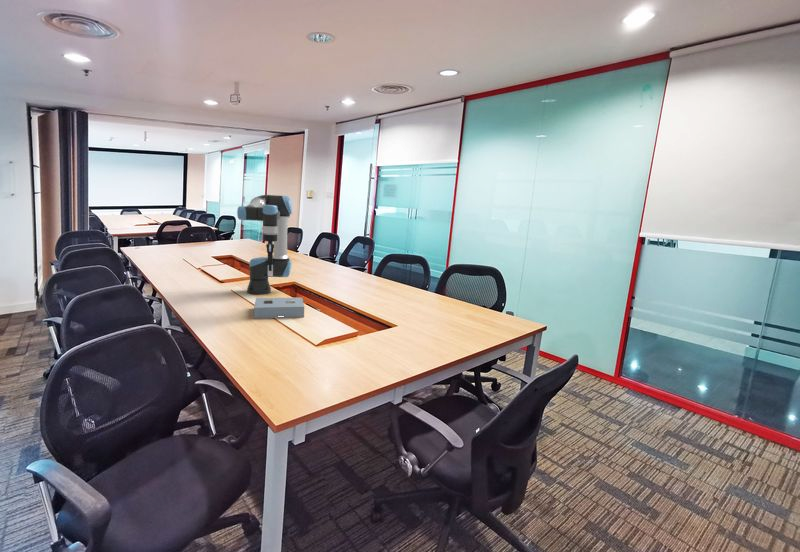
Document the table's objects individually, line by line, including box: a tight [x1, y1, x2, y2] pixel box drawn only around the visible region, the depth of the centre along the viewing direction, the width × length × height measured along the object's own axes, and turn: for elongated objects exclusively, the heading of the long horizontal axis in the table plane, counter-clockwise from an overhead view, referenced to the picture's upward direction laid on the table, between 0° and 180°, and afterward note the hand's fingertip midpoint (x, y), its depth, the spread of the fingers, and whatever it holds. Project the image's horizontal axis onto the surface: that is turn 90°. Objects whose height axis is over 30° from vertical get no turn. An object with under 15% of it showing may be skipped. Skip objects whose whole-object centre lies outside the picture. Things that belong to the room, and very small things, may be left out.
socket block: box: [253, 296, 305, 319], centre depth 224 cm, size 20×26×6 cm
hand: (270, 276), depth 220 cm, fingers closed
